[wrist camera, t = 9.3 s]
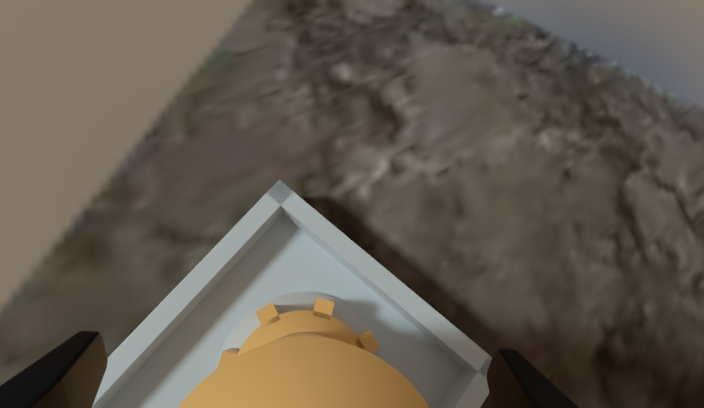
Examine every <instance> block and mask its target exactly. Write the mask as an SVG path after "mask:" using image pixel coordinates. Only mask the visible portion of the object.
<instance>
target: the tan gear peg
mask: <svg viewBox="0 0 704 408" xmlns="http://www.w3.org/2000/svg"><path fill="white" fill-rule="evenodd" d="M334 304H335V302H333V301H329V300H326V299H322V298H319V297H317V299H316V302H315V305H314V309H313V311H312V310H296V311H291V312H286V313H283V314H279V312H278V310H277V308H276V306H275V305H274V304H273V303H270V304H269V305H267V306H265V307H263V308H261V309H260V310H258V311H256V312H255V313H256V315H257V317H258V319H259V321H260V323H261V325H260V326H259V327H258V328H257V329H256V330H254V331H253V333H252V334H251V335H250V336H249V337H248V338H247V339H246V341H245V342H244V344H243V345H242V346H241V348H240V350H235V349H232V348H230V349H227V350H223V352H222V355H221V358H220V361H219V364H218V367H217V369H216V370H215V371H213V372H212V373H211V374H210V375H209V376H207V377H206V378H205V379H204V380H203V381H202V382H200V383H199V384H198V385H197V386H196V387H195V388H194V389H193V390H192V391H191V393H190V394H189V395H188V396H187V397H186V398H185V399H184V400H183V401H182V402H181V404H180V405H179V407H178V408H430V407H429V406H428V404H427V403H426V401H425V399H424V398H423V397H422V396H421V394H420V393H419V392H418V391H417V390H416V388H415V387H414V386H413V385H412V384H411V382H409V381H408V380H407V379H406V378H405V377H404V376H403V375H402V374H401V373H400V372H399V371H398V370H397V369H395V368H394V367H392V366H391V365H390V364H388V363H387V362H385V361H384V360H383V359H381V358H379V357H377V356H376V355H374V354H372V352H373V351H375V350H377V349H378V348H380V347H379V346H378V344H377V342H376V340H375V338H374V337H373V335H372V333H371V331H362V332H361V333H359V334H357V335H356V334H355V333H354V332H353V331H352V330H351V329H350V328H349V327H348V326H347V325H346V324H344V323H343V322H341V321H340V320H338V319H336V318H335V317H333V316H331V315H332V311H333V308H334Z"/></svg>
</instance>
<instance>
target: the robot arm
mask: <svg viewBox="0 0 704 408" xmlns="http://www.w3.org/2000/svg"><path fill="white" fill-rule="evenodd" d="M107 363H108V357H107V352H106V348H105V344H104V339H103V336H102V334H101V333H100V332H95V331H81V332H78V333H76V334H75V335H73V336H72V337H71V338H69V339H68V340H66V341H65V342H63V343H62V344H60V345H59V346H57V347H56V348H55V349H53V350H52V351H50V352H49V353H47V354H46V355H44V356H43V357H41V358H40V359H39V360H37V361H36V362H34V363H33V364H31V365H30V366H28V367H27V368H25V369H24V370H23V371H21V372H20V373H18V374H17V375H15V376H14V377H12V378H11V379H10V380H8V381H7V382H5V383H4V384H2V385H1V386H0V408H92V406H93V403H94V401H95V398H96V395H97V392H98V390H99V387H100V384H101V382H102V379H103V376H104V374H105V371H106V368H107ZM487 383H488V388H489V393H490V397H491V402H492V407H493V408H579V407H578V406H577V405H575V404H574V403H573V402H572V401H571V400H570V399H569V398H568V397H567V396H566V395H564V394H563V393H562V392H561V391H560V390H559V389H558V388H557V387H556V386H555V385H553V384H552V383H551V382H550V381H549V380H548V379H547V378H546V377H545V376H544V375H542V374H541V373H540V372H539V371H538V370H537V369H536V368H535V367H534V366H533V365H531V364H530V363H529V362H528V361H527V360H526V359H525V358H524V357H523V356H522V355H520V354H519V353H518V352H517V351H516V350H514V349H508V348H498V349H496V350H495V352H494V355H493V357H492V360H491V363H490V365H489V368H488V371H487Z"/></svg>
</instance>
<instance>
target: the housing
mask: <svg viewBox="0 0 704 408" xmlns="http://www.w3.org/2000/svg"><path fill="white" fill-rule="evenodd" d="M317 297H319V298H322V299H326V300H329V301H333V302H335V304H334V308H333V311H332V315H331V316H333V317H335V318H336V319H338V320H340V321H341V322H343V323H344V324H346V325H347V326H348V327H349V328H350V329H351V330H352V331H353V332H354V333H355V334H356V335H357V334H359V333H361V332H362V331H371V333H372V335H373V337H374V338H375V340H376V342H377V344H378V346H379V347H380V348H378V349H377V350H375V351H373V352H372V354H374V355H376V356H377V357H379V358H381V359H383V360H384V361H385V362H387V363H388V364H390V365H391V366H392V367H394V368H395V369H397V370H398V371H399V372H400V373H401V374H402V375H403V376H404V377H405V378H406V379H407V380H408V381H409V382H411V384H412V385H413V386H414V387H415V388H416V390H417V391H418V392H419V393H420V394H421V396H422V397H423V398H424V399H425V401H426V403H427V404H428V406H429V407H430V408H480V407H481V405H482V404H483V402H484V401H485V399H486V398H487V396H488V394H489V388H488V383H487V371H488V368H489V365H490V363H491V360H492V357H491V356H490V355H489V354H488V353H486V352H485V351H484V350H483V349H482V348H480V347H479V346H478V345H477V344H476V343H474V342H473V341H472V340H471V339H470V338H468V337H467V336H466V335H465V334H464V333H462V332H461V331H460V330H459V329H458V328H456V327H455V326H454V325H453V324H452V323H450V322H449V321H448V320H447V319H446V318H444V317H443V316H442V315H441V314H440V313H438V312H437V311H436V310H435V309H434V308H432V307H431V306H430V305H429V304H428V303H426V302H425V301H424V300H423V299H422V298H420V297H419V296H418V295H417V294H416V293H414V292H413V291H412V290H411V289H410V288H408V287H407V286H406V285H405V284H404V283H402V282H401V281H400V280H399V279H398V278H396V277H395V276H394V275H393V274H392V273H390V272H389V271H388V270H387V269H386V268H384V267H383V266H382V265H381V264H380V263H378V262H377V261H376V260H375V259H374V258H372V257H371V256H370V255H369V254H368V253H366V252H365V251H364V250H363V249H362V248H360V247H359V246H358V245H357V244H356V243H354V242H353V241H352V240H351V239H350V238H348V237H347V236H346V235H345V234H344V233H342V232H341V231H340V230H339V229H338V228H336V227H335V226H334V225H333V224H332V223H330V222H329V221H328V220H327V219H326V218H324V217H323V216H322V215H321V214H320V213H318V212H317V211H316V210H315V209H314V208H312V207H311V206H310V205H309V204H308V203H306V202H305V201H304V200H303V199H302V198H300V197H299V196H298V195H297V194H296V193H294V192H293V191H292V190H291V189H290V188H288V187H287V186H286V185H285V184H284V183H282V182H281V181H280V180H279V181H278V182H277V183H276V184H275V185H274V186H273V187H272V188H271V189H270V190H269V191H268V192H267V193H266V194H265V195H264V196H263V197H262V198H261V199H260V200H259V201H258V202H257V203H256V204H255V206H254V207H253V208H252V209H251V210H250V211H249V212H248V213H247V214H246V215H245V216H244V217H243V218H242V219H241V220H240V221H239V222H238V223H237V224H236V225H235V226H234V227H233V228H232V229H231V230H230V231H229V233H228V234H227V235H226V236H225V237H224V238H223V239H222V240H221V241H220V242H219V243H218V244H217V245H216V246H215V247H214V248H213V249H212V250H211V251H210V252H209V253H208V254H207V255H206V256H205V257H204V259H203V260H202V261H201V262H200V263H199V264H198V265H197V266H196V267H195V268H194V269H193V270H192V271H191V272H190V273H189V274H188V275H187V276H186V277H185V278H184V279H183V280H182V281H181V282H180V283H179V284H178V286H177V287H176V288H175V289H174V290H173V291H172V292H171V293H170V294H169V295H168V296H167V297H166V298H165V299H164V300H163V301H162V302H161V303H160V304H159V305H158V306H157V307H156V308H155V309H154V310H153V311H152V313H151V314H150V315H149V316H148V317H147V318H146V319H145V320H144V321H143V322H142V323H141V324H140V325H139V326H138V327H137V328H136V329H135V330H134V331H133V332H132V333H131V334H130V335H129V336H128V337H127V339H126V340H125V341H124V342H123V343H122V344H121V345H120V346H119V347H118V348H117V349H116V350H115V351H114V352H113V353H112V354H111V355H110V356H109V357H108V363H107V368H106V371H105V374H104V376H103V379H102V382H101V384H100V387H99V390H98V392H97V395H96V398H95V401H94V403H93V406H92V408H178V407H179V405H180V404H181V402H182V401H183V400H184V399H185V398H186V397H187V396H188V395H189V394H190V393H191V391H192V390H193V389H194V388H195V387H196V386H197V385H198V384H199V383H200V382H202V381H203V380H204V379H205V378H206V377H207V376H209V375H210V374H211V373H212V372H213V371H215V370H216V369H217V367H218V364H219V361H220V358H221V355H222V352H223V350H227V349H230V348H232V349H235V350H240V348H241V346H242V345H243V344H244V342H245V341H246V339H247V338H248V337H249V336H250V335H251V334H252V333H253V331H254V330H256V329H257V328H258V327H259V326H260V325H261V323H260V321H259V319H258V317H257V315H256V313H255V312H256V311H258V310H260V309H261V308H263V307H265V306H267V305H269V304H270V303H273V304H274V305H275V306H276V308H277V310H278V312H279V314H283V313H286V312H291V311H296V310H312V311H313V309H314V305H315V302H316V299H317Z"/></svg>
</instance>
